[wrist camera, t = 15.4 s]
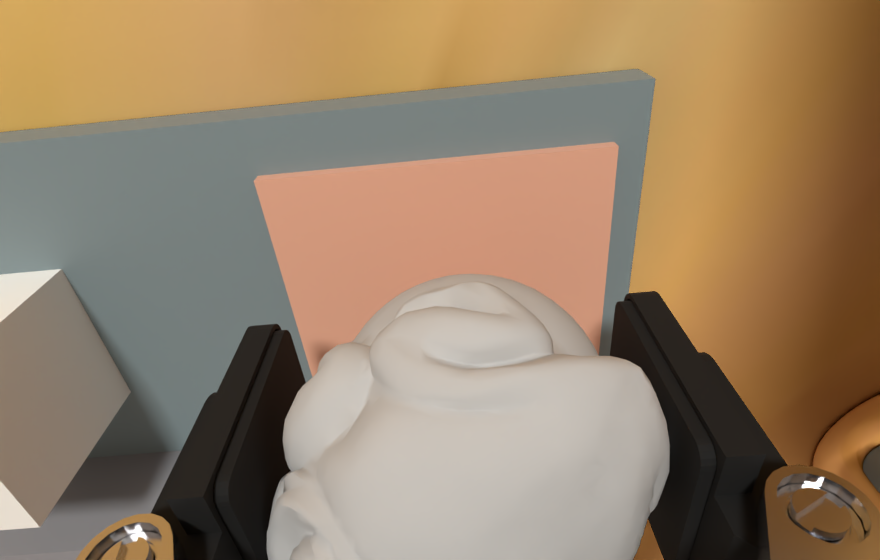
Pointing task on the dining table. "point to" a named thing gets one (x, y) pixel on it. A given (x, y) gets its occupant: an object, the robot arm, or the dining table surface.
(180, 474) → the robot arm
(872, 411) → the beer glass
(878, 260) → the dining table surface
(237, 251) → the game board
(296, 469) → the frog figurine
